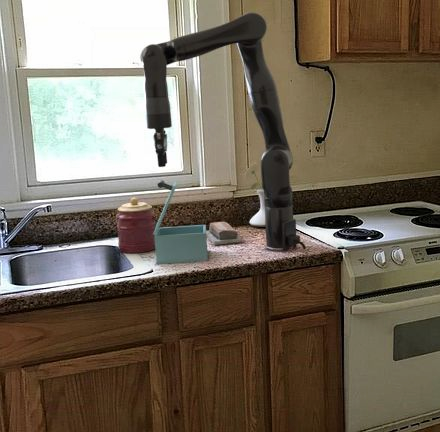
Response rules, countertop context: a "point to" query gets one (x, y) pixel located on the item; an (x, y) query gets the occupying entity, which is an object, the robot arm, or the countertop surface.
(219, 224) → the packaged product
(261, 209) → the flower in vase
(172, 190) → the freezer lid
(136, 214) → the kitchen canister
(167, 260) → the box
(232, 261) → the countertop surface
